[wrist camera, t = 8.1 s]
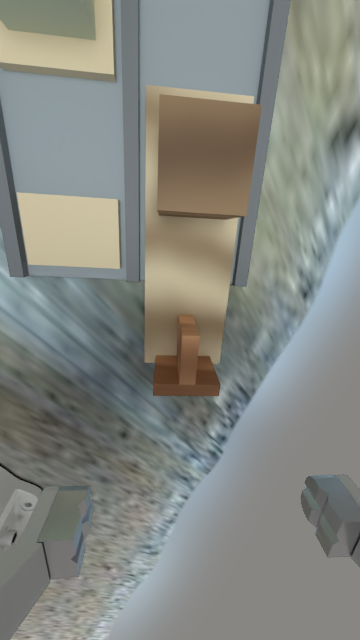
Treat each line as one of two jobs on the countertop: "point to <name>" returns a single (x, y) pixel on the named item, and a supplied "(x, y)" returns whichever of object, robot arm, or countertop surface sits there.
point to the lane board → (118, 126)
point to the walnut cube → (205, 157)
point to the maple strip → (184, 277)
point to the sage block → (50, 17)
